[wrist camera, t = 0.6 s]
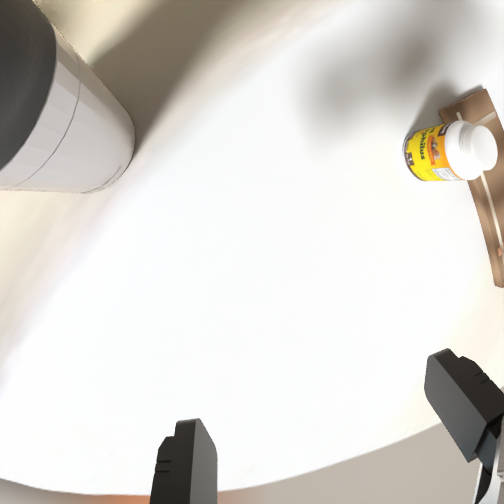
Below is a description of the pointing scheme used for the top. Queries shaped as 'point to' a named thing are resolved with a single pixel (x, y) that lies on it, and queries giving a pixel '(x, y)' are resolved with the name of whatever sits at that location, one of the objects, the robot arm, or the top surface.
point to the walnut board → (486, 175)
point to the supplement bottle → (450, 152)
